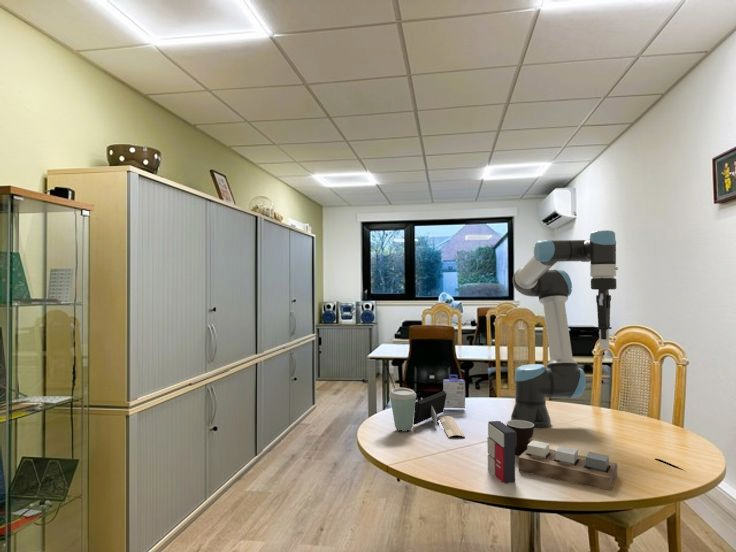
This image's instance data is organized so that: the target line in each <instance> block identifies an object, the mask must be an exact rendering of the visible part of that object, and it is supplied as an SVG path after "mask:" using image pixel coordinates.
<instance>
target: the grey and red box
mask: <svg viewBox="0 0 736 552" xmlns="http://www.w3.org/2000/svg"><path fill="white" fill-rule="evenodd" d="M487 436H488V437H487V441H486V442H487V470H488V471H489V473H491V474H492V475H493V476H495V478H497V480H499V481H500V482H501V483H502V484H514V483H515V484H516V456H515V448H516V446H517V433H516V432H515V431H514V430H512V429H511V428H509V427H508V426H507V424H505V423H504V422H502V421H501V420H493V421H492V420H491V421H488V423H487Z"/></svg>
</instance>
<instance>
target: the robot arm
mask: <svg viewBox="0 0 736 552" xmlns="http://www.w3.org/2000/svg"><path fill="white" fill-rule="evenodd" d="M558 262H559V263H560V262H562V263H563V262H583V263H589V262H590V266H589V268H590V269H589V270H590V272H589V273H590V277H591V279H590V289H591V290H597V293H598V294H596V297H595V299H596V300H595V302H596V309H597V310H596V311H597V327H596V330H598V331H599V333H598V336H599V337H598V339H599V341H598V342H599V350H606V351H609V350H610V330H612V327H611V301H612V295H611V294H610V292H609V290H610V291H611V290H616V289H617V279H616V278H615V277H617V271H618V270H619V267H617V239H616V232H615V231H613V230H594V231H591V232H590V235H589V239H567V240H563V239H562V240H561V239H559V240H557V239H553V240H551V239H545V240H544V239H543V240H538V241H537V242H536V243H535V245H534V247H533V256H532V257H531V258H530V259H529V260H528V262H527V263H526V264H525V265H524V266H523V267H520V268H518V269H517V270H516V271H515V272H514V274H513V276H512V285H513V287H514V289H515V290H516V292H518V293H520V294H522V295H523V296H526V297H538V302H539V303H540V304H541V305H543V312H544V319H545V328H546V337H547V343H548V344H547V345H548V351H549V361H548V362H547V364H546V365H544V364H541V363H532V364H531V363H529V364H523V365H520V366H518V367H516V368H515V372H514V385H515V386H514V389H515V390H514V391H515V392H514V393H515V397H514V398H515V401H514V402H515V404H514V406H513V410H512V411H511V416H510V420H523V421H528V422H531V423H533V424H534V429H546V428H549V427H550V426H551V425H552V422H551V421H552V419H551V416H550V414H549V410H548V408H547V405H546V404H547V403H546V400H547V398H549V399H550V398H551V399H553V398H555V399H556V398H559V399H563V398H564V399H566V398H567V399H571V398H573V399H575V398H580V397H581V396H582V395H583V394H584V392H585V389H586V384H587V383H586V382H587V380H586V373H585V371H584V369H582V368H580V367H579V364H578V362H576V361H575V360H574V358H573V352H572V345H571V337H570V330H569V324H568V316H567V310H566V309H567V307H566V302H567V301H568V300H569V296H571V294H572V291H573V285H572V284H573V283H572V279H571V276H570V275H569V274H568V272H566V270H561V269H555V268H554V269H551V268H552V267H553V266H554V265H556V264H557V263H558Z"/></svg>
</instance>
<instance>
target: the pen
mask: <svg viewBox="0 0 736 552" xmlns="http://www.w3.org/2000/svg"><path fill="white" fill-rule="evenodd" d="M654 461H657V462H660V463H662V464H665V465H667V466H669V467H672V468H675V469H678V470H681V471H684V472H687V471H686V470H684V469H682V468H681V467H678V466H676V465H674V464H672V463H670V462H667V461H666V460H663V459H659V458H654Z"/></svg>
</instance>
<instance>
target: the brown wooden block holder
mask: <svg viewBox="0 0 736 552" xmlns="http://www.w3.org/2000/svg"><path fill="white" fill-rule="evenodd" d="M549 450H550V452H549V453H548V454H547V455H546V459H542V458H538V457H533V456H532V455H531V454H528V453H527V450H526V451H525V452H523V453H522V454H521V455H520V456H518V472H521V473H525V474H529V475H534V476H539V477H544V478H548V479H551V480H557V481H561V482H566V483H571V484H576V485H580V486H584V487H588V486H589V487H590V488H593V489H597V488H598V489H599V490H603V491H607V492H611V490H612V488H613V485H614V483H615V482H616V480H617V478H618V463H617V462H613V461H609V466H608V467H607V469H606V473H605V472H601V471H596V470H592V469H589V467H587V466H586V456H585V455H579V454H578V459H577V460H576V462H575V463H574V464H575V466H574V465H569V464H565V463H560V462H559V460H555V451H556V450H557V449H551V448H549ZM598 489H597V490H598Z"/></svg>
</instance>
